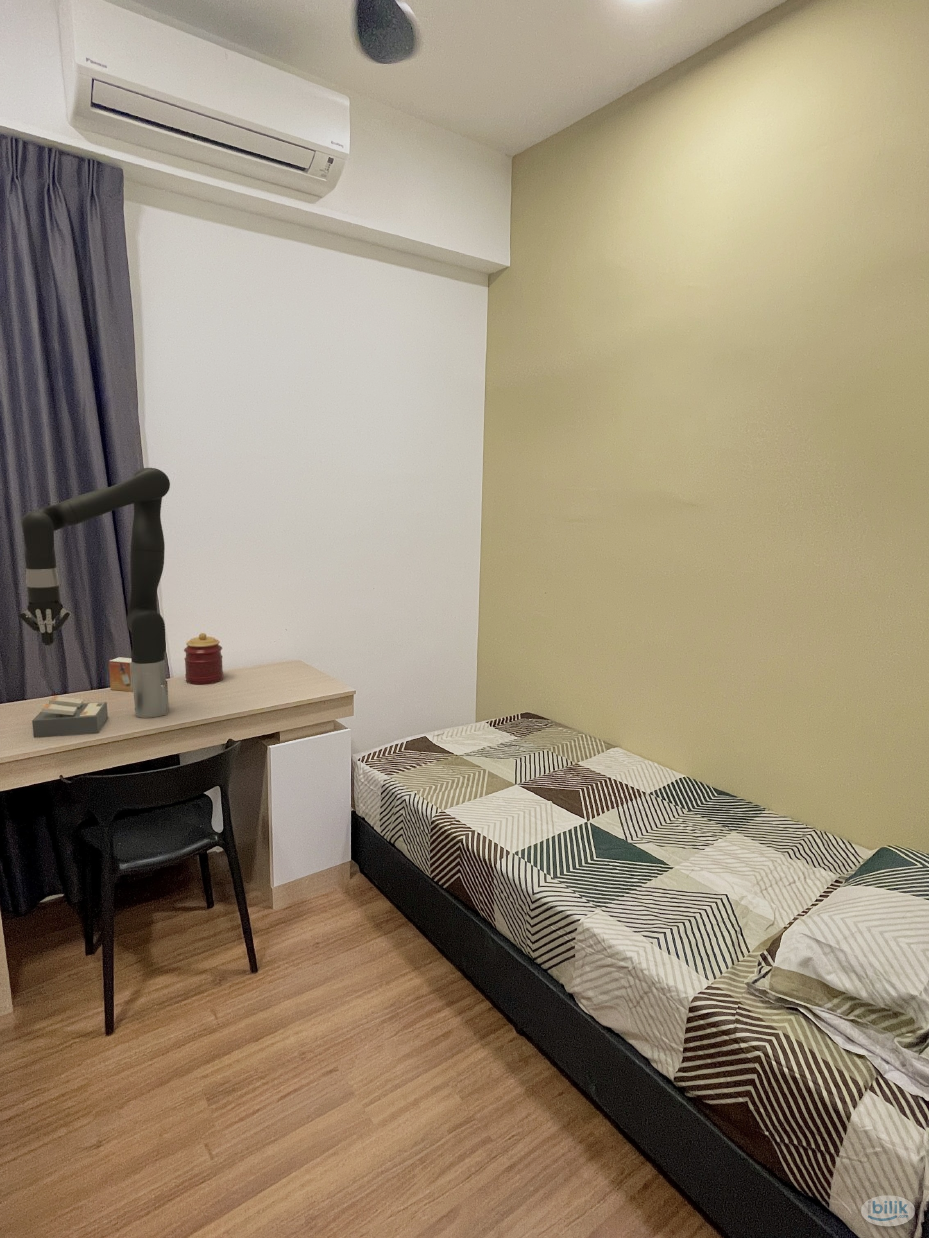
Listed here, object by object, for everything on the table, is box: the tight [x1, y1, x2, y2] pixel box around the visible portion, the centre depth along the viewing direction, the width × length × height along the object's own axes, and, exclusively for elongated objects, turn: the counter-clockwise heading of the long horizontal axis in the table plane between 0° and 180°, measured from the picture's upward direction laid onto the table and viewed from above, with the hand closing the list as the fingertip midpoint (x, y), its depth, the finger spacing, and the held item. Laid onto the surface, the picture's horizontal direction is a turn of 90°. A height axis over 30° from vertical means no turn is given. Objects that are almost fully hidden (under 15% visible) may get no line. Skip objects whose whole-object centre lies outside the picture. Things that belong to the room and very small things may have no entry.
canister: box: [183, 632, 224, 685], centre depth 237 cm, size 13×13×18 cm
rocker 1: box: [48, 695, 84, 707], centre depth 191 cm, size 8×4×1 cm, turn 108°
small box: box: [108, 656, 134, 693], centre depth 224 cm, size 8×6×10 cm
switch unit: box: [31, 701, 109, 739], centre depth 189 cm, size 16×13×6 cm
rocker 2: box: [40, 703, 77, 715], centre depth 184 cm, size 8×4×1 cm, turn 108°
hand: (48, 644), depth 183 cm, fingers closed
